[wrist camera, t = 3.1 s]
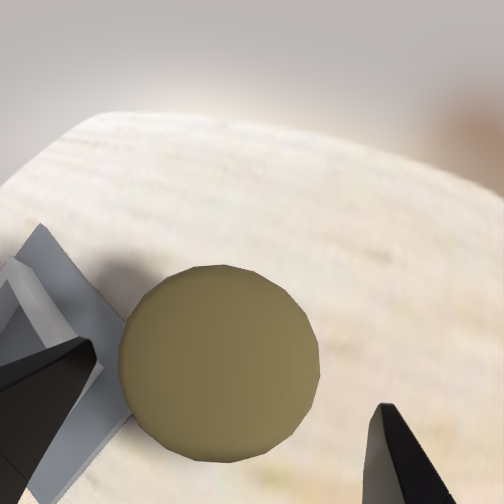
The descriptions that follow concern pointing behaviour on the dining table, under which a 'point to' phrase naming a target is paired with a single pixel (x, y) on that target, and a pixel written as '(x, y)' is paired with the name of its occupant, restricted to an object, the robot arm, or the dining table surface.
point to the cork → (218, 364)
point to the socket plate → (53, 333)
